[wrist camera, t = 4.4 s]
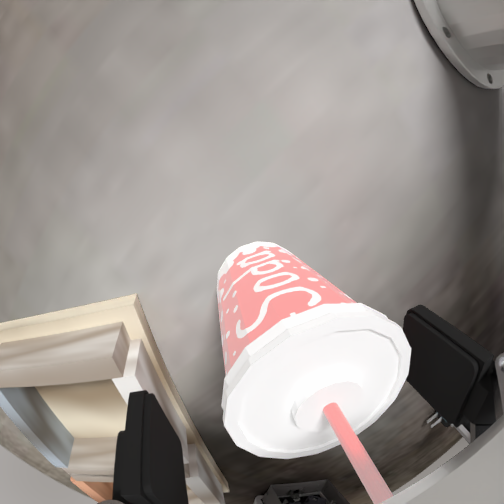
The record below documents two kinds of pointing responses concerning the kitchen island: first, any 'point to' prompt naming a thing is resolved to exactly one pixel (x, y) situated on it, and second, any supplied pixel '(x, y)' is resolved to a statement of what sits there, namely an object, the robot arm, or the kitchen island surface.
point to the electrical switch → (302, 494)
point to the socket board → (94, 392)
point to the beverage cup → (303, 361)
